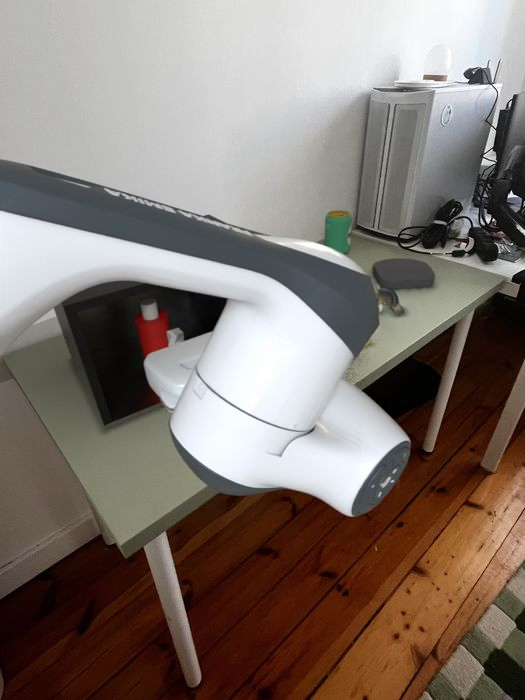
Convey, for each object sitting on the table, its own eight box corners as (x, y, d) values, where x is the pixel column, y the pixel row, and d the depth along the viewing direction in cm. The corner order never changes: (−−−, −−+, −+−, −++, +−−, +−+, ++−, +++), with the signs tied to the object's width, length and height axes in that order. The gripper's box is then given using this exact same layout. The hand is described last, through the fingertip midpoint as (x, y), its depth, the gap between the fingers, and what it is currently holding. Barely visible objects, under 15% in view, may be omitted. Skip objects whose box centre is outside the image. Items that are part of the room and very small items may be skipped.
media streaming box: (381, 290, 113) (382, 280, 111) (369, 268, 125) (370, 258, 123) (438, 287, 112) (440, 277, 111) (420, 265, 125) (422, 256, 123)
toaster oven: (107, 434, 73) (64, 309, 60) (72, 360, 93) (34, 253, 80) (282, 361, 89) (279, 248, 75) (220, 310, 108) (209, 214, 95)
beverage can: (349, 256, 133) (351, 217, 126) (323, 256, 134) (324, 217, 128) (350, 247, 139) (352, 209, 133) (325, 246, 141) (326, 209, 134)
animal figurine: (359, 310, 102) (397, 312, 97) (363, 280, 102) (401, 281, 97) (371, 314, 109) (407, 317, 103) (375, 286, 109) (411, 287, 103)
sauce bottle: (155, 386, 82) (137, 312, 73) (144, 372, 86) (126, 300, 77) (183, 375, 84) (169, 302, 76) (171, 362, 89) (157, 291, 80)
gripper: (178, 443, 41) (132, 372, 51) (344, 367, 49) (277, 319, 59) (167, 391, 37) (119, 326, 47) (347, 319, 46) (275, 277, 56)
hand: (208, 322), depth 53 cm, fingers open, 8 cm apart
